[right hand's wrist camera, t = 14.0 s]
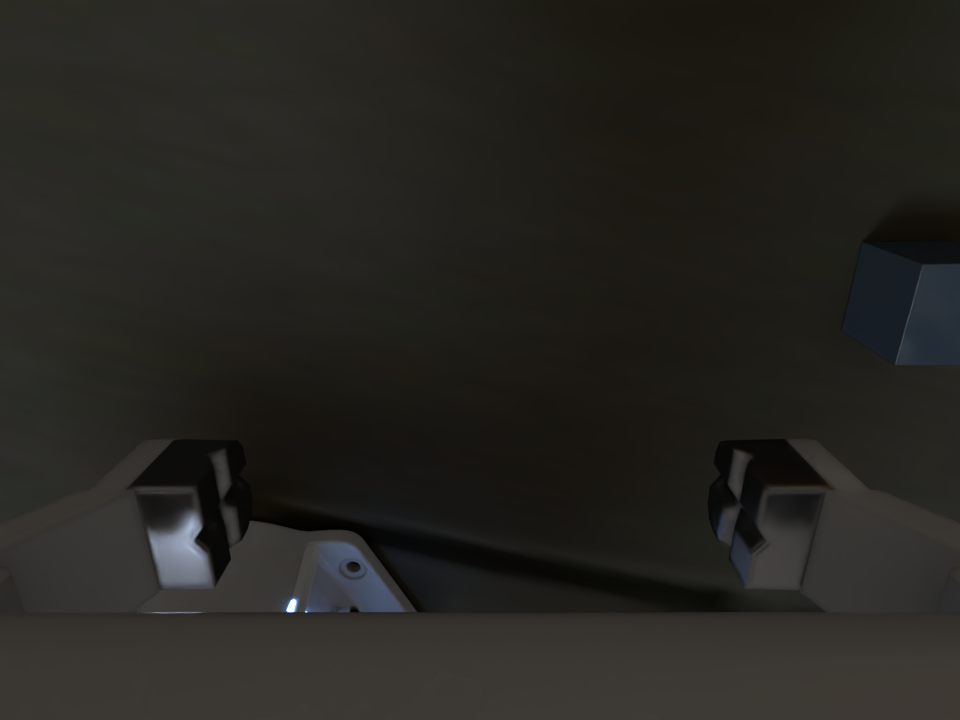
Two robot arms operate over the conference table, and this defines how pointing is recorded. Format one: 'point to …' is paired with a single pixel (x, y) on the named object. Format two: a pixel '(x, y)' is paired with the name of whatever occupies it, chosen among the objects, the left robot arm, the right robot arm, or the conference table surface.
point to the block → (907, 302)
